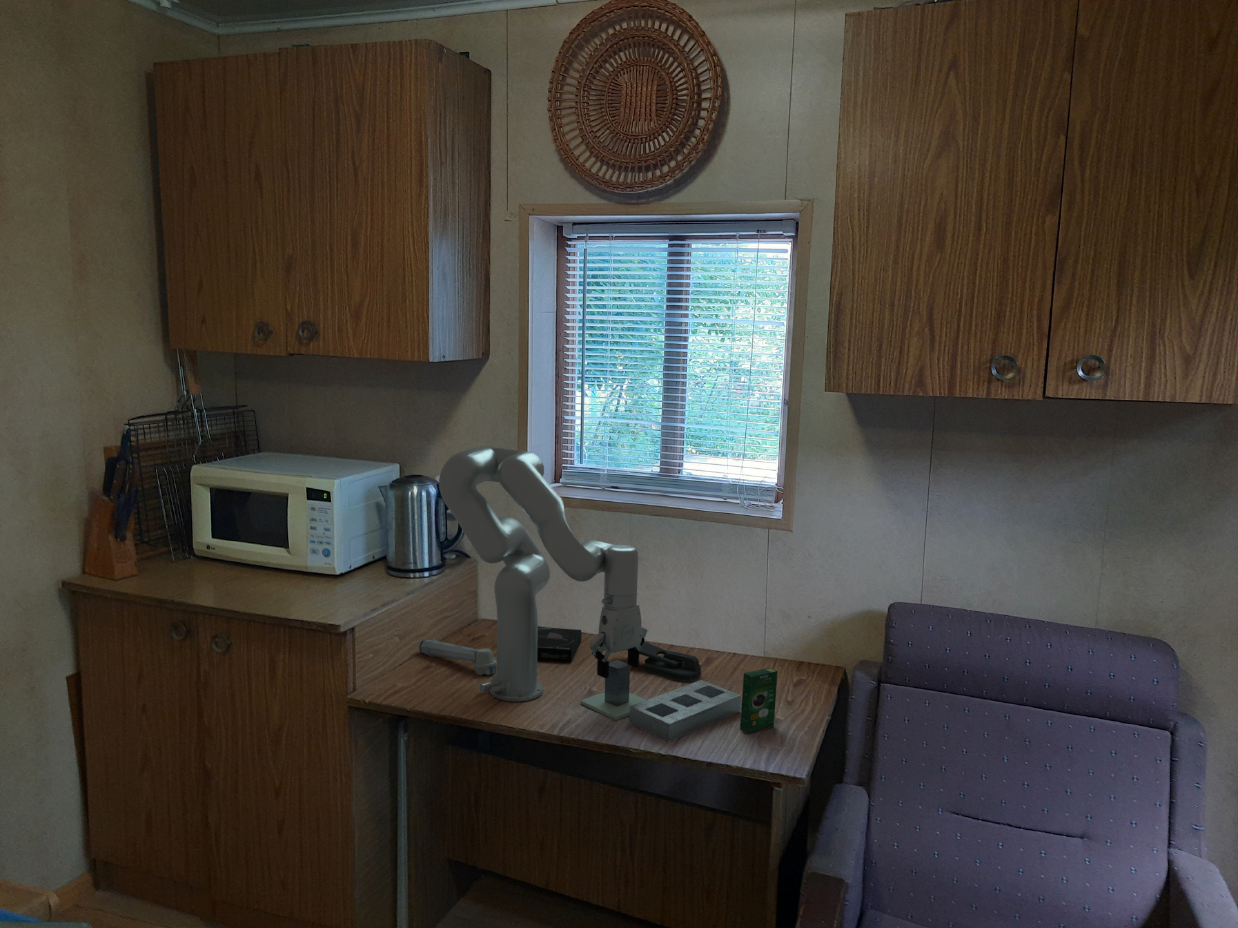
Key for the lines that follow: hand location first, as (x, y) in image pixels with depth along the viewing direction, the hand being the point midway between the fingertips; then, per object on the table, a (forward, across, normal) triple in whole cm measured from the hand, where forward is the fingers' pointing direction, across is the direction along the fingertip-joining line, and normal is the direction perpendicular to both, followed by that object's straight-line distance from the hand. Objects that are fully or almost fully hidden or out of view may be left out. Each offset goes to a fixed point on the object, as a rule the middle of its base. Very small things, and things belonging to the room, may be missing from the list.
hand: (618, 671), depth 210 cm
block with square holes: (+8, +7, -15) cm, 18 cm away
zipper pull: (+8, +24, +11) cm, 27 cm away
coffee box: (+8, +15, -29) cm, 34 cm away
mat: (+8, 0, 0) cm, 8 cm away
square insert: (+7, 0, 0) cm, 7 cm away
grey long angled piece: (+9, -13, +45) cm, 48 cm away
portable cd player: (+9, +11, +39) cm, 41 cm away
